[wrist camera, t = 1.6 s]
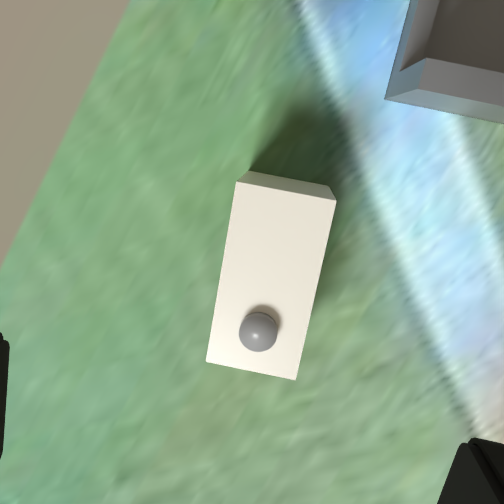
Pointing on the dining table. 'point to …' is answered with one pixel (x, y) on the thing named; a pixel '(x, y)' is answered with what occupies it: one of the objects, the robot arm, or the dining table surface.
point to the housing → (452, 58)
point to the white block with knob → (270, 273)
